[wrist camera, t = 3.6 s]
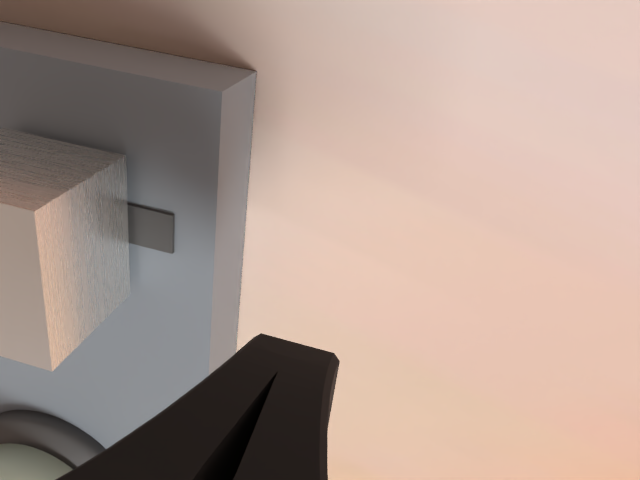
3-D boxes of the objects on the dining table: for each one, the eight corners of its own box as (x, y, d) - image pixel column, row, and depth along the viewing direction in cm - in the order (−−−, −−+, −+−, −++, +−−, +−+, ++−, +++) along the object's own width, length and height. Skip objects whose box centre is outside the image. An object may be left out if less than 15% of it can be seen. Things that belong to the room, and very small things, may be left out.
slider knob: (130, 293, 15) (51, 371, 12) (21, 264, 15) (-76, 333, 13) (125, 155, 13) (33, 212, 11) (3, 128, 14) (-113, 174, 11)
